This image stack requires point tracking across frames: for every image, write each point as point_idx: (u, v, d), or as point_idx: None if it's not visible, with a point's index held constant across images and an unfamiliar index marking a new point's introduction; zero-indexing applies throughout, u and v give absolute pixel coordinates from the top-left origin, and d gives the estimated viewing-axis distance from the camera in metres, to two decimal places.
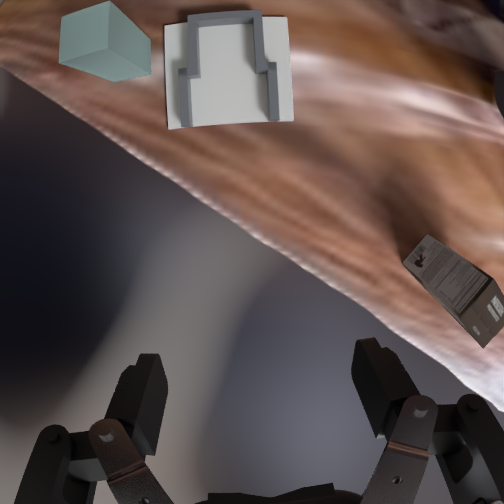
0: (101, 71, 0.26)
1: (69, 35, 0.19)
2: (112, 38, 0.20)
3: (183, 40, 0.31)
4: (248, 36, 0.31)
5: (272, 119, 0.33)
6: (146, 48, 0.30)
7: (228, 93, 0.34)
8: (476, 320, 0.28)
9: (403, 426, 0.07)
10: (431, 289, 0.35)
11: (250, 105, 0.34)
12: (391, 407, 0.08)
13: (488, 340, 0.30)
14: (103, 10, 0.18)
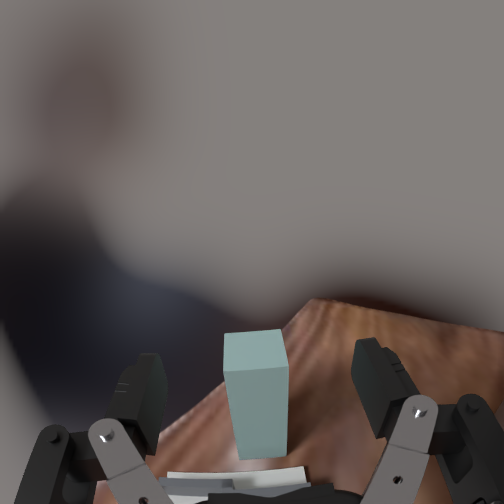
0: None
1: (253, 338, 0.27)
2: (241, 380, 0.23)
3: None
4: None
5: None
6: (269, 449, 0.27)
7: None
8: None
9: (403, 426, 0.07)
10: None
11: None
12: (391, 407, 0.08)
13: None
14: (276, 362, 0.23)
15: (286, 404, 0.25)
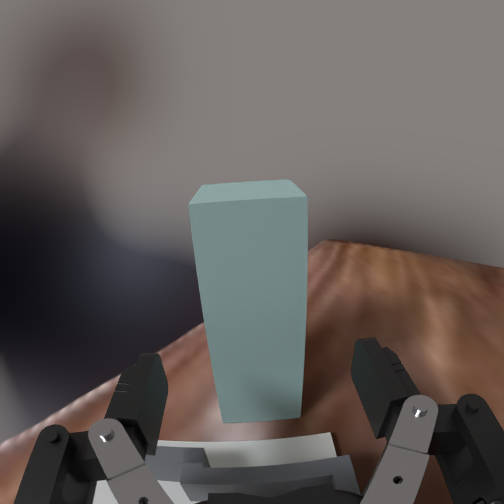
0: None
1: (246, 184, 0.17)
2: (220, 228, 0.13)
3: None
4: None
5: None
6: (272, 402, 0.17)
7: None
8: None
9: (403, 426, 0.07)
10: None
11: None
12: (391, 407, 0.08)
13: None
14: (284, 195, 0.14)
15: (304, 294, 0.15)
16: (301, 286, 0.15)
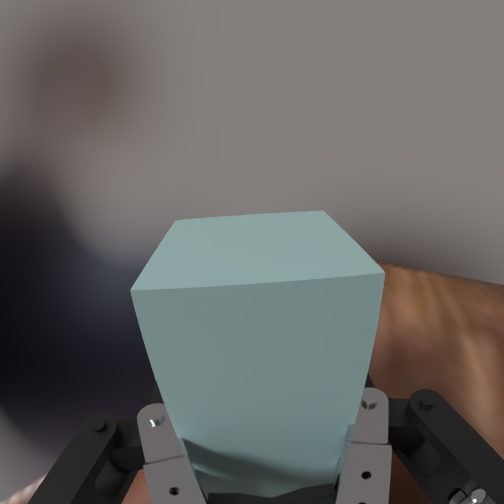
0: None
1: (250, 223, 0.09)
2: (201, 337, 0.06)
3: None
4: None
5: None
6: None
7: None
8: None
9: None
10: None
11: None
12: None
13: None
14: (334, 264, 0.06)
15: (350, 422, 0.08)
16: (348, 413, 0.07)
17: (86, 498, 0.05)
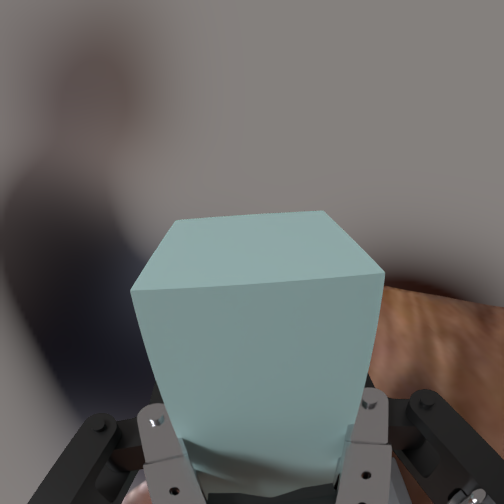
0: None
1: (250, 223, 0.09)
2: (200, 337, 0.06)
3: None
4: None
5: None
6: None
7: None
8: None
9: None
10: None
11: None
12: None
13: None
14: (334, 265, 0.06)
15: (350, 422, 0.08)
16: (348, 413, 0.07)
17: (86, 498, 0.05)
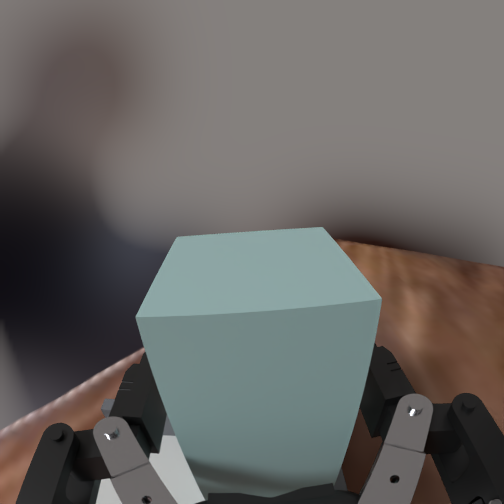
0: None
1: (251, 242, 0.10)
2: (204, 360, 0.06)
3: None
4: None
5: None
6: None
7: None
8: None
9: (397, 425, 0.07)
10: None
11: None
12: (386, 406, 0.08)
13: None
14: (333, 290, 0.07)
15: (347, 434, 0.08)
16: (345, 426, 0.08)
17: None
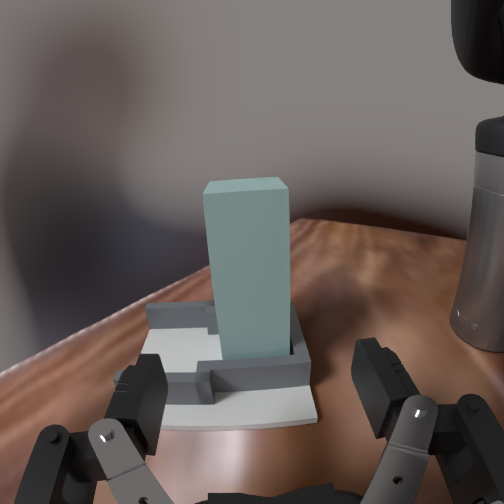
0: None
1: (244, 181, 0.22)
2: (225, 211, 0.18)
3: None
4: None
5: (117, 374, 0.20)
6: (265, 355, 0.22)
7: (180, 357, 0.25)
8: None
9: (403, 426, 0.07)
10: None
11: None
12: (391, 407, 0.08)
13: None
14: (271, 187, 0.19)
15: (287, 262, 0.20)
16: (285, 255, 0.20)
17: None
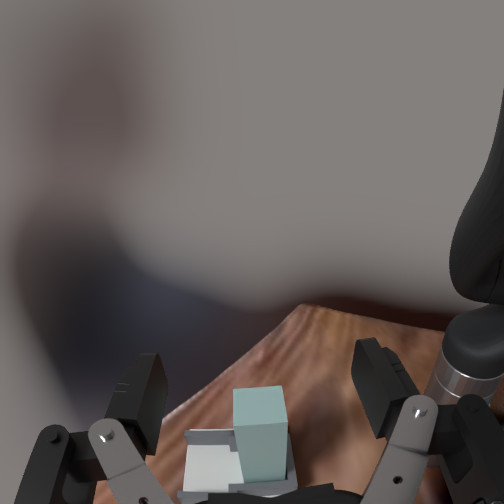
0: None
1: (258, 394, 0.29)
2: (247, 432, 0.26)
3: None
4: None
5: (178, 492, 0.28)
6: (270, 478, 0.30)
7: (213, 470, 0.33)
8: None
9: (403, 426, 0.07)
10: None
11: (199, 485, 0.31)
12: (391, 407, 0.08)
13: None
14: (277, 418, 0.26)
15: (285, 447, 0.27)
16: (284, 445, 0.27)
17: None
